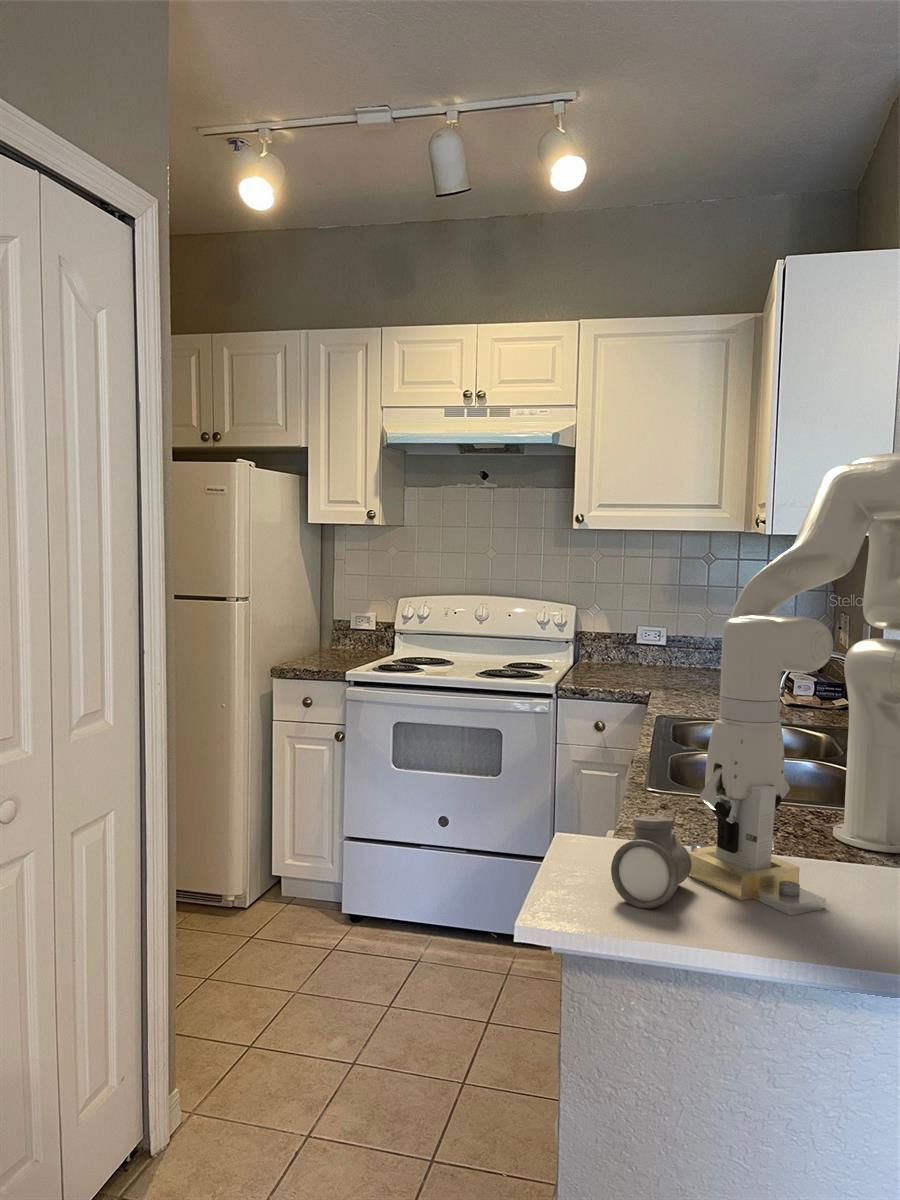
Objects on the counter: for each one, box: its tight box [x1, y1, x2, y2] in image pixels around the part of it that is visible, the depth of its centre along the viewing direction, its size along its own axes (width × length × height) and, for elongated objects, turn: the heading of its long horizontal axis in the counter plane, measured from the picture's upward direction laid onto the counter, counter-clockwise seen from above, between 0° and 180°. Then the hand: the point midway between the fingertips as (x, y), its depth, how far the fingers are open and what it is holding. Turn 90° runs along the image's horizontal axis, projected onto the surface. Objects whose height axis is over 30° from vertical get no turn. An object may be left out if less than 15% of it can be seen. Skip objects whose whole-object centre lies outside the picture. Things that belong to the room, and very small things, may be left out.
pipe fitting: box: [610, 815, 692, 909], centre depth 111 cm, size 12×8×10 cm
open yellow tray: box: [685, 843, 827, 916], centre depth 117 cm, size 10×22×3 cm, turn 26°
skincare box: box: [715, 785, 776, 872], centre depth 117 cm, size 6×4×12 cm
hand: (743, 846), depth 117 cm, fingers closed on skincare box, 5 cm apart
